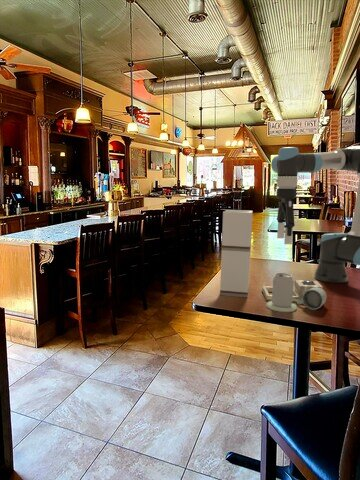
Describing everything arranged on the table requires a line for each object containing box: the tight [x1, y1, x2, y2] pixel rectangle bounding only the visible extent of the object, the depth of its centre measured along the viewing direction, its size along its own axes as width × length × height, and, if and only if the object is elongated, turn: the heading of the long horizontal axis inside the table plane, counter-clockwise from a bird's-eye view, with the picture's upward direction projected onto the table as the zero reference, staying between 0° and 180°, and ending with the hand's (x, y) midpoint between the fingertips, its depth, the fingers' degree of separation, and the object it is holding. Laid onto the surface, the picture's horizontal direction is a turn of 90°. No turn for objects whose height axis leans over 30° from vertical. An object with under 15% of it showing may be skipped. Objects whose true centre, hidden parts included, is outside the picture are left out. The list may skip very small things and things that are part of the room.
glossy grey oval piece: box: [303, 279, 315, 285], centre depth 152 cm, size 4×4×5 cm
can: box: [271, 272, 295, 308], centre depth 139 cm, size 8×8×12 cm
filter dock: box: [261, 279, 324, 303], centre depth 152 cm, size 22×13×6 cm, turn 85°
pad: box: [266, 300, 297, 313], centre depth 140 cm, size 11×11×1 cm
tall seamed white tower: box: [219, 209, 254, 298], centre depth 154 cm, size 11×11×35 cm
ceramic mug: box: [296, 287, 328, 311], centre depth 141 cm, size 11×8×8 cm
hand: (284, 241), depth 147 cm, fingers open, 13 cm apart
